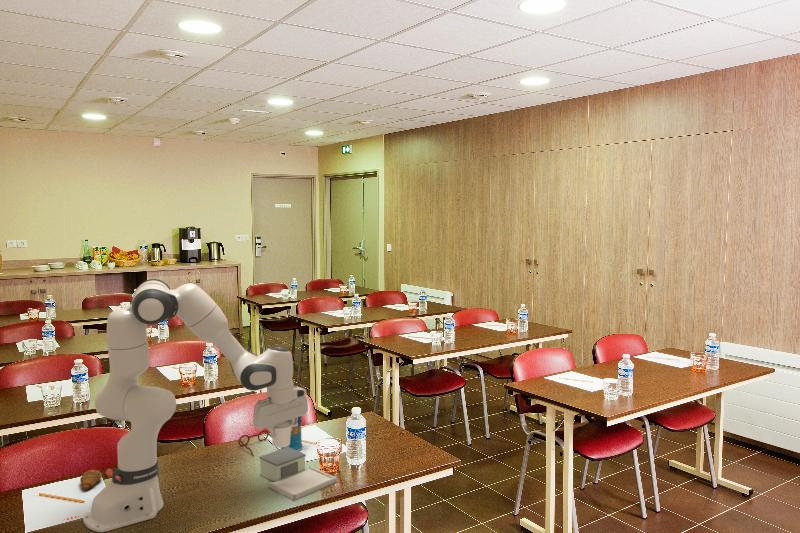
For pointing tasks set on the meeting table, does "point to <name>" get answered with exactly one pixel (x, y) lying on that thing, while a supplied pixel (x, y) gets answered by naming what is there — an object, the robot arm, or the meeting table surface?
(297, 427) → the beverage bottle
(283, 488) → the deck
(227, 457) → the meeting table surface
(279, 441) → the white cup
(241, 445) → the glasses
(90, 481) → the croissant
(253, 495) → the meeting table surface
